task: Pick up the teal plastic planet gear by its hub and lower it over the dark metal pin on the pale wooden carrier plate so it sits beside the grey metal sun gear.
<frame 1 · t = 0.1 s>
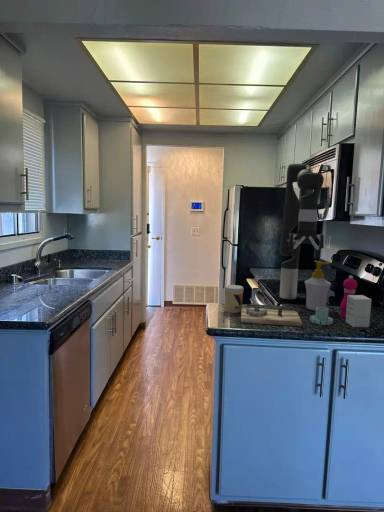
hand: (304, 257, 152), 29 cm above the table, tool pointing down, fingers open, 8 cm apart
supplement box: (356, 325, 155), on the table
planet gear: (321, 321, 158), on the table
coffee cup: (233, 311, 172), on the table
carrier: (269, 318, 160), on the table
soap bottle: (315, 309, 178), on the table
pepper mill: (347, 317, 166), on the table
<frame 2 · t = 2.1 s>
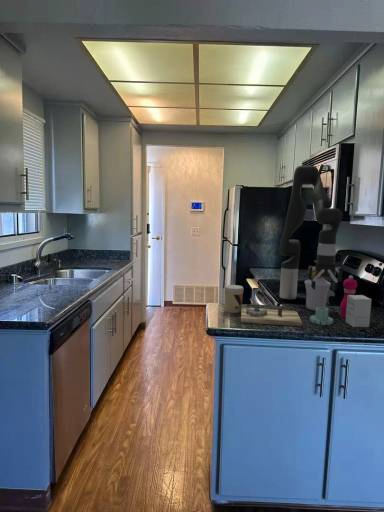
hand: (323, 289, 156), 15 cm above the table, tool pointing down, fingers open, 8 cm apart
nothing on the table moved.
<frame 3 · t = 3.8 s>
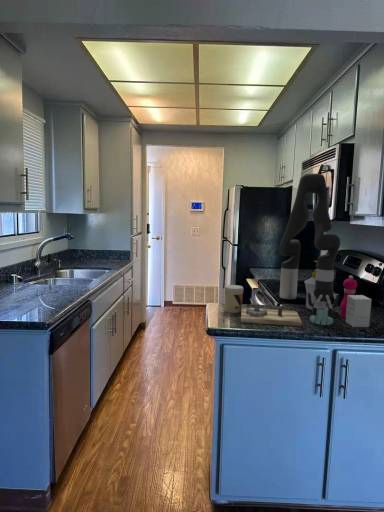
hand: (321, 315, 158), 3 cm above the table, tool pointing down, fingers closed on planet gear, 5 cm apart
planet gear: (321, 321, 158), on the table, touching gripper
everything else where it was.
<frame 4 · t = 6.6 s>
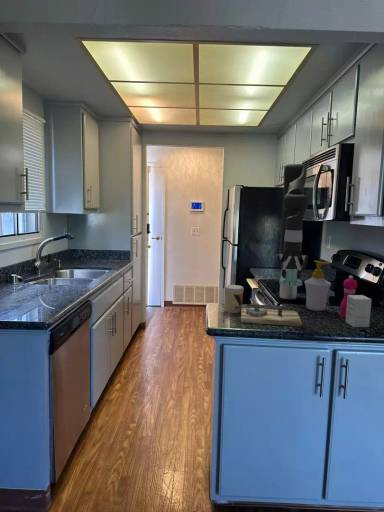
hand: (290, 277, 157), 20 cm above the table, tool pointing down, fingers closed on planet gear, 5 cm apart
planet gear: (290, 283, 157), point 17 cm above the table, touching gripper
everything else where it was.
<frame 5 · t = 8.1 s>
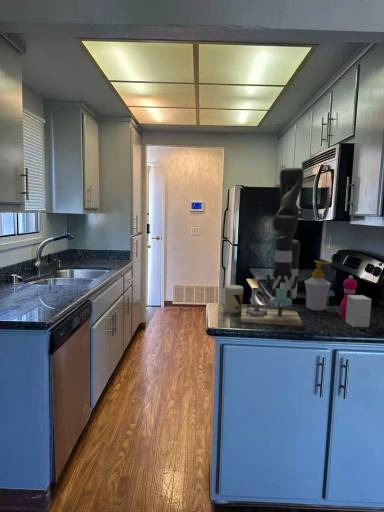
hand: (280, 297, 158), 10 cm above the table, tool pointing down, fingers closed on planet gear, 5 cm apart
planet gear: (280, 302, 159), point 8 cm above the table, touching gripper
everything else where it was.
when the fingers open (6 cm above the table, at t = 9.5 s): planet gear drops 1 cm, resting on carrier.
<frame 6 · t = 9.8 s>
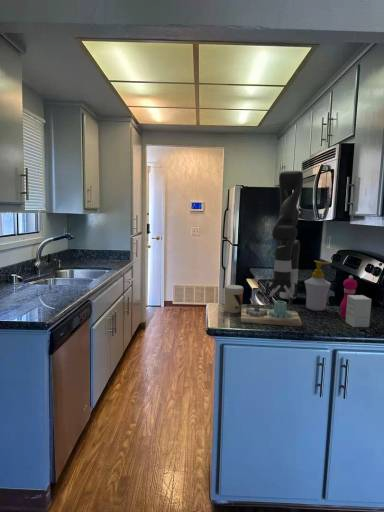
hand: (280, 304, 159), 7 cm above the table, tool pointing down, fingers open, 8 cm apart
planet gear: (279, 315, 160), point 2 cm above the table, touching carrier
everything else where it was.
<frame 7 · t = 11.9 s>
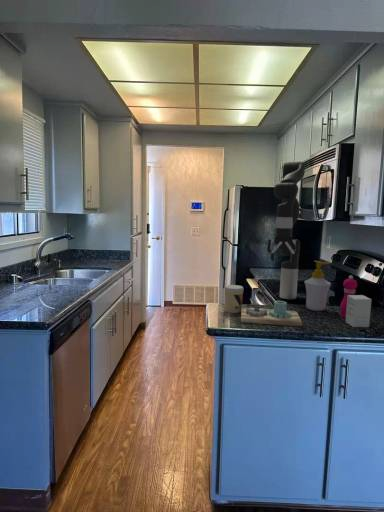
hand: (282, 261, 164), 26 cm above the table, tool pointing down, fingers open, 8 cm apart
nothing on the table moved.
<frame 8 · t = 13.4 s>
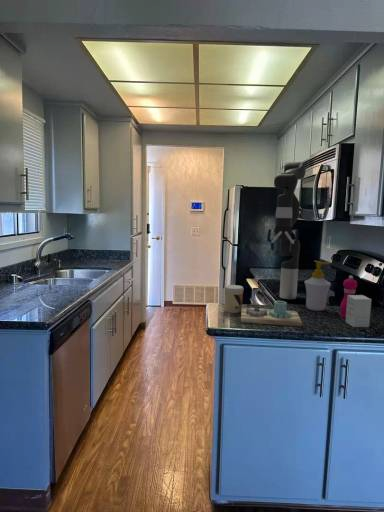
hand: (281, 251, 167), 30 cm above the table, tool pointing down, fingers open, 8 cm apart
nothing on the table moved.
at the end: planet gear 0.0 cm from the target spot on the carrier, point 2.0 cm above the carrier's base; planet gear tilted 0°; the gripper is holding nothing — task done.
